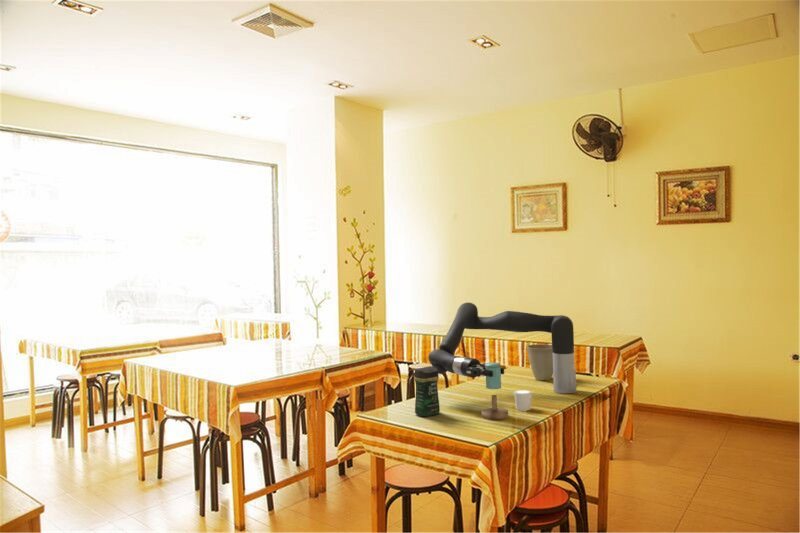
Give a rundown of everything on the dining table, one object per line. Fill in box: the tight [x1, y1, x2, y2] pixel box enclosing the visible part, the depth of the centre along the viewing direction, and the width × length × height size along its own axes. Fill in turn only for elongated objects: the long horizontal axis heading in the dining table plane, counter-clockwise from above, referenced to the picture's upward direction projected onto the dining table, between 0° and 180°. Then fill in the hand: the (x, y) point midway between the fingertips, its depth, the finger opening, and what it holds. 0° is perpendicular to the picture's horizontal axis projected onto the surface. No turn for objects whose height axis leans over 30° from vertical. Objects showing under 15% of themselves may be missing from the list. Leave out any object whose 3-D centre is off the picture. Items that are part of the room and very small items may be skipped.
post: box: [481, 394, 509, 421], centre depth 219 cm, size 10×10×8 cm
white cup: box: [513, 389, 532, 412], centre depth 227 cm, size 7×7×7 cm
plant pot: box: [526, 343, 553, 381], centre depth 278 cm, size 15×15×16 cm
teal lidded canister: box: [484, 362, 502, 390], centre depth 219 cm, size 6×6×9 cm
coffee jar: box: [413, 365, 441, 417], centre depth 226 cm, size 10×8×19 cm
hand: (498, 372), depth 217 cm, fingers closed on teal lidded canister, 5 cm apart
